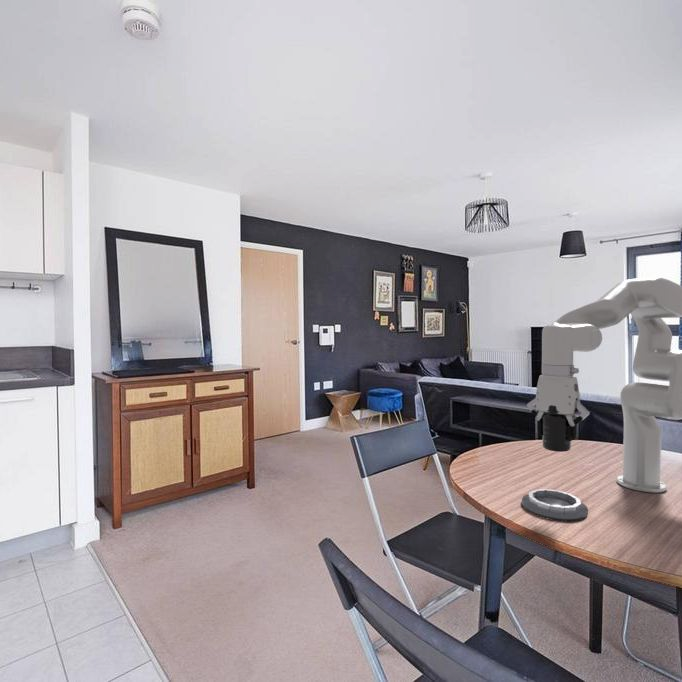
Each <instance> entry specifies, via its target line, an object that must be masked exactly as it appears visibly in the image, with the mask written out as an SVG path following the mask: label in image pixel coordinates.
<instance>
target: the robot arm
mask: <svg viewBox="0 0 682 682" xmlns="http://www.w3.org/2000/svg"><path fill="white" fill-rule="evenodd" d="M630 314H631V317H632V319H633V320H634V323H635V324H636V326H637V330H638V336H637V344H636V348H635V353H634V356H633V362H632V364H633V365H632V371H633V373H634V375H635V376H637V377H638V378H641V379H644V380H645V379H646V380H651V381H661V382H668V385H665V384H657V383H647V382H640V381H639V382H630V383H628V384H626V385H625V386H624V387H622V389H621V392H620V403H621V409H622V415H623V440H622V441H623V442H622V443H623V445H622V446H623V447H622V449H623V450H622V451H623V453H622V454H623V455H622V474H621V475H618V476H616V482H617V484H619V485H621V486H622V487H624V488H628V489H630V490H634V491H638V492H645V493H653V494H654V493H663V492H666V491H667V484H666V483H664V482H663V481H661V464H662V463H661V462H662V461H661V460H662V459H661V458H662V429H661V425H660V423H659V422H658V420H657V419H656V417H657V418H661V419H668V420H675V421H678V420H682V349H671V347H672V340H673V333H672V331H671V329H670V327H669V325H668V324H667V323H666V322H665V321H664V319H667V318H669V319H670V318H671V319H672V318H673V319H675V318H679V319H680V318H682V285H680V284H679V283H677V282H674V281H672V280H669V279H667V278H663V277H659V276H658V277H657V276H655V277H654V276H653V277H641V278H631V279H625V280H622V281H620V282H618V283H616V285H615V286H614V287H612V288H610V289H609V291H607V292H606V293H604V294H603V295H602V296H600V298H598V299H597V300H596V301H594V302H590V303H587V304H585V305H583V306H580V307H578V308H576V309H573V310H570V311H568V312H566V313H565V314H562V315H561V316H559V317H558V318H557V319H556V320H554V321H553V322H552V323H551V324H548V325H545V326H544V327H543V328H542V330H541V374H540V375H539V377H538V380H537V385H536V392H535V397H534V399H532V400H531V401H528V403H527V404H526V407H527V408H528V409H529V411H530V412H531V414H532V415H533V416H534V418H535V420H536V421H537V432H538V436H540V437H543V428H542V418H543V415H544V414H545V413H548V411H547V410H549V406H550V405H552V406H556V409H557V411H559V413H558V414H560V415H565V416H566V418H567V420H568V422H569V426H567V440H568V441H571V442H572V441H574V440H575V439H576V438H577V436H578V435H577V433H578V432H577V425H579V424H580V423H581V422H582V421H584V420H585V419H586V418H587V417H588V416H589V415H590V413H591V412H590V411H589V410H588V409H587V408H586V407H585V406H584V405H583V404H582V403H581V400H580V399H581V398H580V388H579V383H578V378H577V376H574V375H575V374H579V372H580V371H579V370H580V369H579V368H578V367H577V368H576V367H575V364H574V352H579V353H580V352H581V353H583V352H584V353H585V352H586V353H588V352H592V351H594V350H597V349H598V348H600V345H602V343H603V342H602V341H603V333H602V331H601V330H602V329H606V328H610V327H614V326H616V325H618V324H620V323H621V322H622V321H623V320H624V319H626V318H627V317H628V316H629V315H630ZM578 413H580V414H579V415H578V416H576V414H578Z"/></svg>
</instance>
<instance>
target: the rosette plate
mask: <svg viewBox="0 0 682 682" xmlns="http://www.w3.org/2000/svg"><path fill="white" fill-rule="evenodd" d="M521 505H522V507H523V508H524V510H526V511H527V512H529V513H530V514H532V513H533V515H535V516H537V515H538V516H537V517H540V516H541V517H540V518H543V517H544V519H547V518H548V520H551V519H552V520H551V521H558V522H578V521H581V520H582V521H583V520H584V519H586V518H587V517H588V515H589V508H588V506H587V505H586V504H585V503H583V502H582V501H581V499H580V498H579V497H577V496H575V495H573V494H571V493H569V492H565V491H562V490H556V489H550V488H549V489H547V488H541V489H540V488H539V489H533V490H531V491H528V494H527V493H526V494H525V495H523V496H522V498H521Z"/></svg>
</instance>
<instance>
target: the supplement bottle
mask: <svg viewBox="0 0 682 682" xmlns="http://www.w3.org/2000/svg"><path fill="white" fill-rule="evenodd" d="M547 411H548V413H545V414H544V415H543V418H542V428H543V435H542V448H544V449H545V450H547V451H551V452H558V453H559V452H560V453H563V452H564V453H565V452H569V451H571V447H572V441H568V440H567V426H569V422H568V420H567V418H566V416H565V415H560V414H558V413H559V411H557V409H556V406H552V405H550V406H549V410H547Z"/></svg>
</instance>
